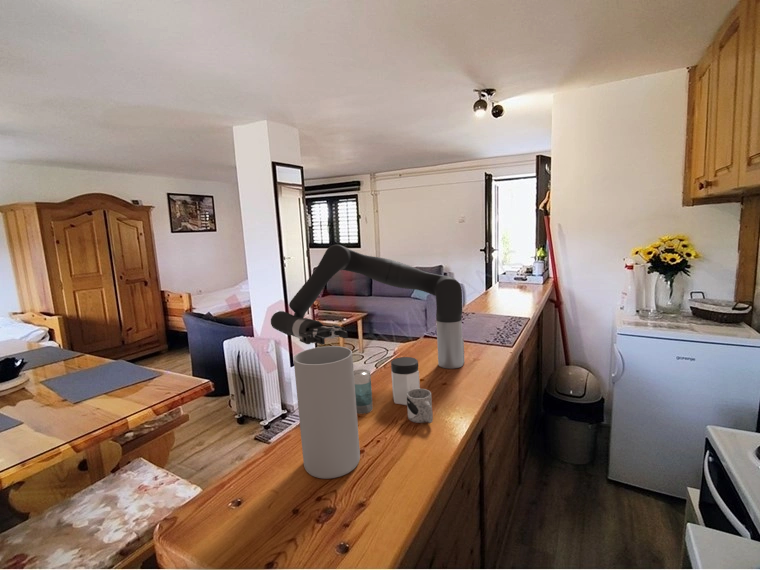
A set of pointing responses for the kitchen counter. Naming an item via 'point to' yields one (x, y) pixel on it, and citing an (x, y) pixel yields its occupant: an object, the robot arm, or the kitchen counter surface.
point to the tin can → (363, 391)
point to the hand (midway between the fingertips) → (335, 338)
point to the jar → (404, 378)
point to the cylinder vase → (327, 411)
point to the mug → (419, 406)
